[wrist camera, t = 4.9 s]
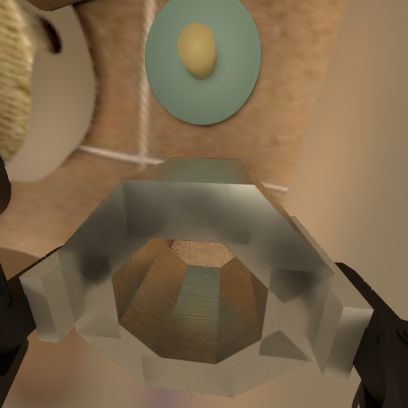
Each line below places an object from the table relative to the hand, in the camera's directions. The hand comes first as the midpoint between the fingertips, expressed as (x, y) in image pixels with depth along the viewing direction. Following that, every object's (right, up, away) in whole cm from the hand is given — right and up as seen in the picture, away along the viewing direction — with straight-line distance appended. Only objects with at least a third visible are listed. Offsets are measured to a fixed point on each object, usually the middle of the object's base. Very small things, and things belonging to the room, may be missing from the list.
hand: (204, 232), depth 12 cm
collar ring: (0, 0, 0) cm, 0 cm away
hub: (0, +17, +10) cm, 20 cm away
